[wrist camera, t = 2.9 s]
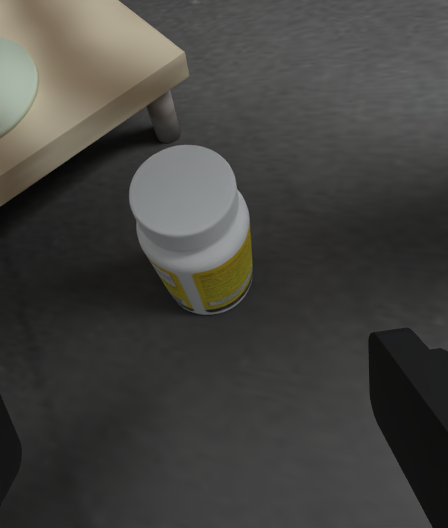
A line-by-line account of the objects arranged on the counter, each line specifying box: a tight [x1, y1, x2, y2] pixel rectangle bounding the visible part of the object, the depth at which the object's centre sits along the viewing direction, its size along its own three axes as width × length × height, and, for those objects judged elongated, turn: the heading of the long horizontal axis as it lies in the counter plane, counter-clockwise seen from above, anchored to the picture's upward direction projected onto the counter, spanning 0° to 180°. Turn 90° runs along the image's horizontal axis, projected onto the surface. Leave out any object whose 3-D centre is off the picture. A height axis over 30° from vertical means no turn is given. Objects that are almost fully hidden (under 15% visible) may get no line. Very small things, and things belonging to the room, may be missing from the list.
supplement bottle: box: [129, 145, 253, 315], centre depth 19 cm, size 5×5×8 cm
